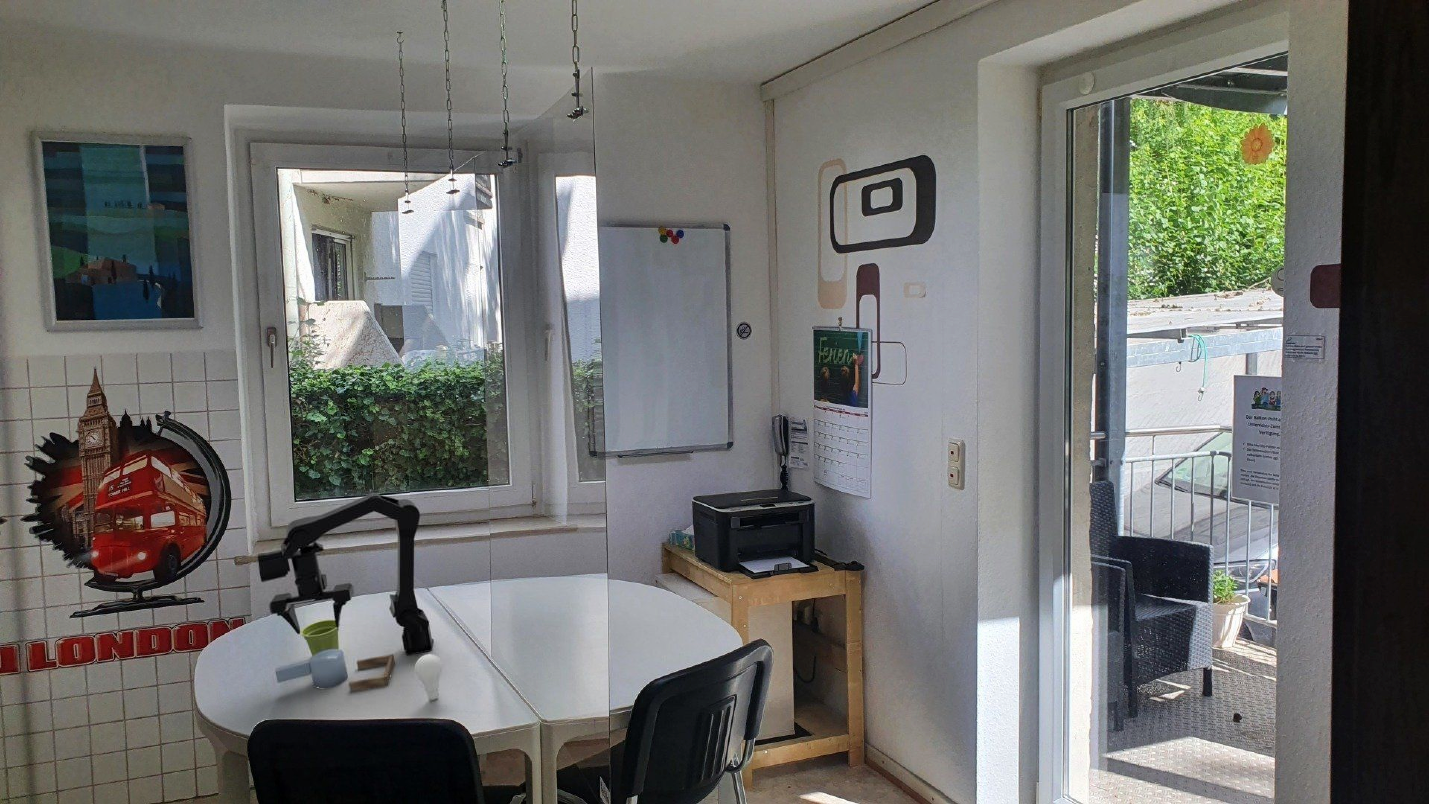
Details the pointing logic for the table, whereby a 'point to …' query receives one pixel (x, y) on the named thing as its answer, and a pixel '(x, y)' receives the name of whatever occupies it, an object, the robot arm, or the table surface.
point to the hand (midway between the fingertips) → (318, 630)
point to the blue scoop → (317, 669)
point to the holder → (375, 681)
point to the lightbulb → (429, 674)
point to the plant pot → (321, 636)
